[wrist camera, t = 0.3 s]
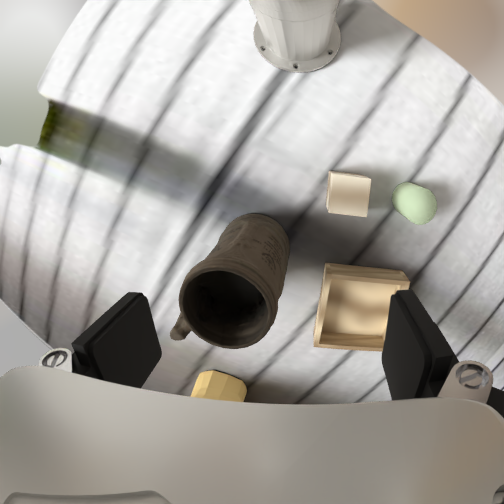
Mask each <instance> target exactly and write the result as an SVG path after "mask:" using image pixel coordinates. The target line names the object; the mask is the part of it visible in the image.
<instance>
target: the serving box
mask: <svg viewBox="0 0 504 504" xmlns="http://www.w3.org/2000/svg"><path fill="white" fill-rule="evenodd" d="M409 285H410V281H409V279H408V278H407V276H406V275H405V274H404V272H403V271H401V270H392V269H382V268H372V267H362V266H352V265H343V264H333V263H325V267H324V274H323V280H322V287H321V293H320V299H319V305H318V311H317V316H316V322H315V327H314V347H320V348H332V349H346V350H362V351H383V346H384V340H385V334H386V328H387V321H388V314H389V306H390V298H391V295H392V294H395V293H396V291H397V290H408V288H409Z"/></svg>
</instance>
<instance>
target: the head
mask: <svg viewBox="0 0 504 504" xmlns="http://www.w3.org/2000/svg"><path fill="white" fill-rule="evenodd" d="M246 393H247V389H246V386H245V384H244V382H243V381H242V380H239V379H237V378H235V377H232V376H230V375H227V374H224V373H221V372H217V371H214V370H212V371H205V372H202V373H200V374H199V376H198V378H197V381H196V383H195V386H194V389H193V392H192V394H191V396H190V397H196V398H204V399H213V400H223V401H234V402H244V399H245V396H246Z"/></svg>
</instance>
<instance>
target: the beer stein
mask: <svg viewBox="0 0 504 504" xmlns="http://www.w3.org/2000/svg"><path fill="white" fill-rule="evenodd" d="M289 253H290V245H289V239H288V237H287V234H286V232H285V231H284V229H283V227H282V226H281V225H280V224H279V223H278V222H276V221H275V220H273V219H272V218H270V217H267V216H265V215H261V214H246V215H242V216H240V217H237V218H236V219H235V220H233V221H232V222H231V223H230V224H229V225H228V226H227V227H226V229H225V230H224V232H223V233H222V234H221V236H220V238H219V241H218V244H217V245H216V246H215V248H214V249H213V250H212V251H211V253H210V254H209V255H208V256H207V257H206V259H205V260H203V261H201V262H199V263H198V264H197V265H196V266H194V267H193V268H192V269H191V270H190V272H189V273H188V274H187V275H186V277H185V279H184V282H183V284H182V287H181V289H180V294H179V307H180V311H181V313H180V315H179V318H178V320H177V322H176V324H175V326H174V327H173V329H172V330H171V332H170V337H171V339H173V340H183V339H185V338H186V336H187V335H188V334H189V333H190V331H193V332H194V333H195V334H196V335H197V336H198V337H199V338H201V339H203V340H204V341H206V342H208V343H210V344H212V345H215V346H218V347H222V348H229V349H239V348H245V347H249V346H251V345H253V344H255V343H257V342H259V341H260V340H261V339H262V338H263V337H264V336H265V335H266V334H267V332H268V331H269V330H270V327H271V326H272V325H273V323H274V321H275V318H276V315H277V310H278V299H279V298H280V296H281V294H282V290H283V286H284V280H285V274H286V271H287V261H288V258H289Z"/></svg>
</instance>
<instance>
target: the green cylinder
mask: <svg viewBox="0 0 504 504" xmlns="http://www.w3.org/2000/svg"><path fill="white" fill-rule="evenodd" d="M392 203H393V206H394V208H395V209H396V210H397V211H398V212H399V213H400V214H402V215H403V216H404V217H406V218H407V219H408V220H410V221H411V222H413V223H414V224H418V225H423V224H426V223H428V222H429V221H431V220H432V218H433V217H434V215H435V213H436V210H437V202H436V198H435V196H434V194H433V193H432V192H431V191H430V190H428V189H426V188H423V187H421V186H418V185H415V184H413V183H409V182H404V183H401V184H399V185H398V186H397V187H396V188H395V190H394V192H393V194H392Z"/></svg>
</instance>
